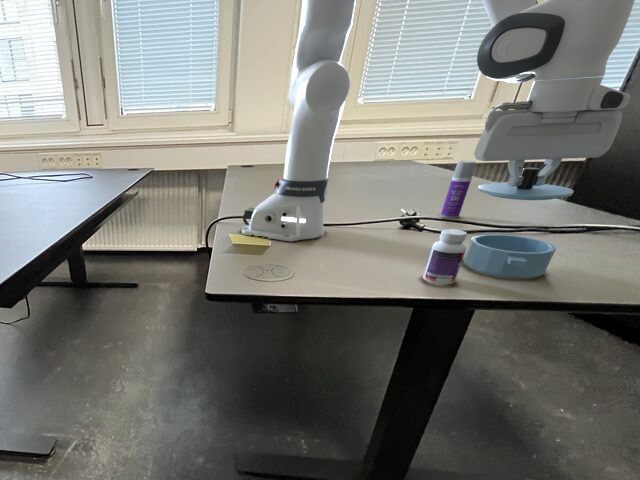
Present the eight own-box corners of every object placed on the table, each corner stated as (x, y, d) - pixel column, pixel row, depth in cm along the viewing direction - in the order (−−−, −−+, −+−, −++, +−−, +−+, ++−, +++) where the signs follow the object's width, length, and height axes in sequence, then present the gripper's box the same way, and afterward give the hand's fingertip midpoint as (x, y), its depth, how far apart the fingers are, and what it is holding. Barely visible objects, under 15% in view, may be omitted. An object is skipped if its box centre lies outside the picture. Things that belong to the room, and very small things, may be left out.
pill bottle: (458, 287, 78) (477, 236, 73) (427, 286, 79) (443, 235, 74) (447, 277, 82) (464, 228, 77) (418, 276, 83) (433, 228, 78)
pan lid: (480, 200, 76) (490, 173, 73) (473, 187, 86) (481, 163, 84) (581, 203, 70) (595, 174, 67) (560, 189, 80) (571, 163, 78)
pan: (467, 279, 81) (477, 253, 78) (460, 252, 95) (468, 229, 92) (553, 288, 75) (567, 261, 72) (532, 258, 89) (543, 234, 86)
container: (444, 218, 121) (461, 162, 113) (437, 214, 125) (454, 160, 117) (461, 218, 120) (480, 162, 112) (454, 214, 124) (472, 160, 116)
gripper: (502, 103, 69) (473, 190, 76) (642, 95, 66) (598, 186, 73) (483, 103, 74) (457, 184, 81) (612, 96, 71) (573, 181, 78)
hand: (525, 185), depth 77 cm, fingers closed on pan lid, 2 cm apart
